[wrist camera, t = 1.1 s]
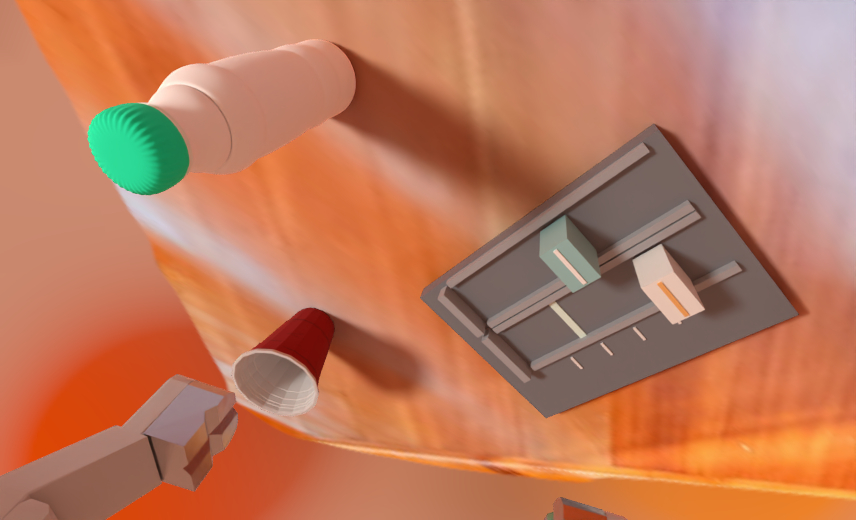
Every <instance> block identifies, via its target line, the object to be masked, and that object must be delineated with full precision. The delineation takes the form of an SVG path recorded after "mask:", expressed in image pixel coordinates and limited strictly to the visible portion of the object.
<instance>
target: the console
mask: <svg viewBox="0 0 856 520" xmlns="http://www.w3.org/2000/svg"><path fill="white" fill-rule="evenodd" d="M564 215H566V216H567V217H568V218H569V219H570V220H571V222H572V223H573V224H574V225H575V226H576V227H577V228H578V230H579V231H580V232H581V233H582V234H583V235H584V236H585V238H586V239H587V240H588V241H589V242H590V243H591V244H592V246H593V247H594V248H595V249H596V251H597V256H598V262H599V267H600V273H601V278H599V279H597V280H595V281H593V282H592V283H590V284H588V285H586V286H585V287H583V288H581V289H579V290H578V291H576V292H574V293H572V291H571V290H570V289H569V288H568V287H567V286H566V285H565V284H564V283H563V282H562V281H561V280H560V278H559V277H558V276H557V275H556V274H555V273H554V272H553V271H552V270H551V269H550V268H549V267H548V265H547V264H546V263H545V262H544V261H543V260H542V259H541V258H540V257H539V251H540V231H542V230H543V229H545V228H546V227H548V226H549V225H551V224H552V223H554V222H555V221H557V220H558V219H559V218H561V217H562V216H564ZM660 244H662V245H663V246H664V248H665V249H666V250H667V251H668V253H669V254H670V255H671V256H672V257H673V259H674V260H675V261H676V262H677V263H678V265H679V266H680V267H681V268H682V270H683V271H684V272H685V273H686V274H687V276H688V277H689V278H690V280H691V282H692V284H693V286H694V288H695V290H696V292H697V294H698V296H699V298H700V300H701V302H702V304H703V306H704V308H705V310H703V311H701V312H699V313H697V314H695V315H692V316H690V317H688V318H686V319H684V320H682V321H679V322H677V323H675V324H673V325H672V324H671V322H670V321H669V320H668V319H667V318H666V317H665V315H664V314H663V313H662V312H661V311H660V310H659V309H658V307H657V306H656V305H655V304H654V303H653V302H652V300H651V299H650V298H649V297H648V296H647V295H646V294H645V292H644V291H643V290H642V289H641V286H640V283H639V280H638V277H637V274H636V270H635V267H634V264H633V261H632V260H633V259H635V258H637V257H639V256H640V255H642V254H644V253H646V252H647V251H649V250H651V249H653V248H654V247H656V246H658V245H660ZM420 298H421V299H422V300H423V301H424V302H425V303H426V304H427V305H428V306H429V307H430V308H431V309H432V310H433V311H434V312H435V313H436V314H437V315H439V316H440V317H441V318H442V319H443V320H444V321H445V322H446V323H447V324H448V325H449V326H450V327H451V328H452V329H453V330H454V331H455V332H456V333H457V334H458V335H460V336H461V337H462V338H463V339H464V340H465V341H466V342H467V343H468V344H469V345H470V346H471V347H472V348H473V349H474V350H475V351H476V352H477V353H478V354H479V355H480V356H482V357H483V358H484V359H485V360H486V361H487V362H488V363H489V364H490V365H491V366H492V367H493V368H494V369H495V370H496V371H497V372H498V373H499V374H500V375H501V376H503V377H504V378H505V379H506V380H507V381H508V382H509V383H510V384H511V385H512V386H513V387H514V388H515V389H516V390H517V391H518V392H519V393H520V394H521V395H522V396H523V397H525V398H526V399H527V400H528V401H529V402H530V403H531V404H532V405H533V406H534V407H535V408H536V409H537V410H538V411H539V412H540V413H541V414H542V415H543V416H544V417H546V418H548V417H550V416H553V415H555V414H558V413H560V412H563V411H565V410H568V409H570V408H572V407H575V406H577V405H580V404H582V403H585V402H587V401H590V400H592V399H594V398H597V397H599V396H602V395H604V394H607V393H609V392H612V391H614V390H616V389H619V388H621V387H624V386H626V385H629V384H631V383H633V382H636V381H638V380H641V379H643V378H646V377H648V376H651V375H653V374H655V373H658V372H660V371H663V370H665V369H668V368H670V367H673V366H675V365H677V364H680V363H682V362H685V361H687V360H690V359H692V358H695V357H697V356H699V355H702V354H704V353H707V352H709V351H712V350H714V349H717V348H719V347H721V346H724V345H726V344H729V343H731V342H734V341H736V340H739V339H741V338H743V337H746V336H748V335H751V334H753V333H756V332H758V331H761V330H763V329H765V328H768V327H770V326H773V325H775V324H778V323H780V322H783V321H785V320H787V319H790V318H792V317H795V316H797V315H799V314H798V313H797V311H796V310H795V309H794V307H793V306H792V305H791V303H790V302H789V301H788V299H787V298H786V297H785V295H784V294H783V293H782V291H781V290H780V289H779V288H778V286H777V285H776V284H775V282H774V281H773V280H772V278H771V277H770V276H769V274H768V273H767V272H766V270H765V269H764V268H763V266H762V265H761V264H760V262H759V261H758V260H757V258H756V257H755V256H754V255H753V253H752V252H751V251H750V249H749V248H748V247H747V245H746V244H745V243H744V241H743V240H742V239H741V237H740V236H739V235H738V233H737V232H736V231H735V229H734V228H733V227H732V226H731V224H730V223H729V222H728V220H727V219H726V218H725V216H724V215H723V214H722V212H721V211H720V210H719V208H718V207H717V206H716V204H715V203H714V202H713V200H712V199H711V198H710V197H709V195H708V194H707V193H706V191H705V190H704V189H703V187H702V186H701V185H700V183H699V182H698V181H697V179H696V178H695V177H694V175H693V174H692V173H691V171H690V170H689V169H688V168H687V166H686V165H685V164H684V162H683V161H682V160H681V158H680V157H679V156H678V154H677V153H676V152H675V150H674V149H673V148H672V146H671V145H670V144H669V142H668V141H667V140H666V139H665V137H664V136H663V135H662V133H661V132H660V131H659V129H658V128H657V127H656V125H655V124H653V125H651V126H650V127H649V128H647V129H646V130H644V131H643V132H642V133H640V134H639V135H637V136H636V137H635V138H633V139H632V140H630V141H629V142H628V143H626V144H625V145H623V146H622V147H621V148H619V149H618V150H617V151H615V152H614V153H612V154H611V155H610V156H608V157H607V158H605V159H604V160H603V161H601V162H600V163H598V164H597V165H596V166H594V167H593V168H591V169H590V170H589V171H587V172H586V173H584V174H583V175H582V176H580V177H579V178H577V179H576V180H575V181H573V182H572V183H570V184H569V185H568V186H566V187H565V188H564V189H562V190H561V191H559V192H558V193H557V194H555V195H554V196H552V197H551V198H550V199H548V200H547V201H545V202H544V203H543V204H541V205H540V206H538V207H537V208H536V209H534V210H533V211H531V212H530V213H529V214H527V215H526V216H524V217H523V218H522V219H520V220H519V221H518V222H516V223H515V224H513V225H512V226H511V227H509V228H508V229H506V230H505V231H504V232H502V233H501V234H499V235H498V236H497V237H495V238H494V239H492V240H491V241H490V242H488V243H487V244H485V245H484V246H483V247H481V248H480V249H478V250H477V251H476V252H474V253H473V254H472V255H470V256H469V257H467V258H466V259H465V260H463V261H462V262H460V263H459V264H458V265H456V266H455V267H453V268H452V269H451V270H449V271H448V272H446V273H445V274H444V275H442V276H441V277H439V278H438V279H437V280H435V281H434V282H432V283H431V284H430V285H428V286H427V287H425V288H424V290H423V292H422V295H421V297H420Z"/></svg>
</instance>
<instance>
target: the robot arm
mask: <svg viewBox="0 0 856 520" xmlns="http://www.w3.org/2000/svg"><path fill="white" fill-rule="evenodd" d="M235 403H236V398H235V393H233V392H230V391H227V390H224V389H220V388H217V387H214V386H211V385H208V384H205V383H202V382H199V381H197V380H194V379H191V378H188V377H184V376H181V375H178V374H177V375H175V376H173V377H171V378H170V379H168V380H167V381H166V382H165V383H164V385H162V386H161V388H159V389H158V391H157V392H155V394H154V395H153V396H152V397H151V398H150V399H149V400H148V401H147V402H146V403H145V404H144V405H143V406H142V407H141V408H140V409H139V410H138V411H137V412H136V413H135V414H134V415H133V416H132V417H131V418H130V419H129V420H128V421H127V422H126V423H125V424H124V425H123V426H122V427H120V426H113V427H111V428H109V429H106V430H104V431H102V432H100V433H98V434H95V435H93V436H91V437H88V438H86V439H84V440H81V441H79V442H77V443H75V444H72V445H70V446H68V447H65V448H63V449H61V450H59V451H56V452H54V453H52V454H50V455H47V456H45V457H43V458H40V459H38V460H36V461H33V462H31V463H29V464H27V465H24V466H22V467H20V468H18V469H15V470H13V471H11V472H8V473H6V474H4V475H2V476H0V520H106V519H107V518H109V517H110V516H112V515H113V514H115V513H117V512H118V511H120V510H121V509H123V508H124V507H126V506H127V505H129V504H131V503H132V502H134V501H135V500H137V499H138V498H140V497H142V496H143V495H145V494H146V493H148V492H149V491H151V490H152V489H154V488H155V487H157V486H159V485H160V484H161V483H162V482H161V481H163V482H166V483H169V484H172V485H175V486H179V487H182V488H185V489H188V490H191V491H195V490H196V488H197V487H198V486H199V485H200V483H201V482H202V480H203V479H204V478H205V476H206V475H207V473H208V472H209V471H210V469H211V468H212V465H213V456H214V455H216V454H218V453H219V452H221V451H223V450H224V449H225V448H226V447H227V445H228V444H229V442H230V441H231V439H232V437H233V435H234V432H235V430H236V428H237V423H238V413H237V412H236V411H235V409H234V408H233V405H234V404H235ZM553 507H554V508H553V510H554V511H553V512H552V513H549V514H547V515H546V517H545V519H544V520H627V519H626V518H625V517H623V516H619V515H616V514H613V513H609V512H606V511H603V510H602V509H598V508H595V507H592V506H588V505H585V504H582V503H578V502H575V501H572V500H568V499H565V498H562V497H560V498H557V499H556V501H555V502H554V505H553Z"/></svg>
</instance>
